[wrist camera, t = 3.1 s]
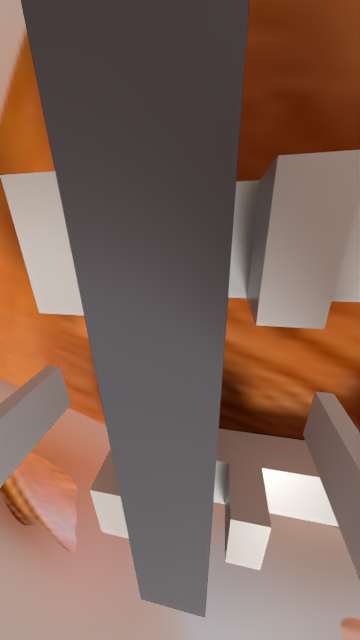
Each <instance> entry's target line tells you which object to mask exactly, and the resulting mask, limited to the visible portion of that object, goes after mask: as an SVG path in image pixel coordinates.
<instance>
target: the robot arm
mask: <svg viewBox="0 0 360 640" xmlns="http://www.w3.org/2000/svg"><path fill="white" fill-rule="evenodd" d="M70 405H71V403H70V400H69V396H68V393H67V389H66V386H65V382H64V379H63V375H62V372H61V368H60V366H49V365H48V366H47V367H45V368H44V369H43V370H42V371H40V372H39V373H38V374H37V375H35V376H34V377H33V378H32V379H30V380H29V381H28V382H27V383H25V384H24V385H23V386H22V387H20V388H19V389H18V390H17V391H15V392H14V393H13V394H12V395H10V396H9V397H8V398H7V399H6V400H4V401H3V402H2V403H1V404H0V487H1V486H2V485H3V484H4V483H5V481H6V480H7V479H8V478H9V477H10V476H11V474H12V473H13V472H14V471H15V470H16V468H17V467H18V466H19V465H20V464H21V462H22V461H23V460H24V459H25V458H26V457H27V455H28V454H29V453H30V452H31V451H32V449H33V448H34V447H35V446H36V445H37V444H38V442H39V441H40V440H41V439H42V438H43V436H44V435H45V434H46V433H47V432H48V430H49V429H50V428H51V427H52V426H53V425H54V423H55V422H56V421H57V420H58V419H59V418H60V416H61V415H62V414H63V413H64V412H65V410H66V409H67V408H68V407H69V406H70ZM303 436H304V438H305V441H306V444H307V446H308V449H309V451H310V454H311V456H312V459H313V462H314V464H315V467H316V469H317V472H318V474H319V477H320V480H321V482H322V485H323V487H324V490H325V492H326V495H327V497H328V500H329V503H330V505H331V508H332V510H333V513H334V515H335V518H336V521H337V523H338V526H339V528H340V531H341V533H342V536H343V539H344V541H345V544H346V546H347V548H348V551H349V554H350V556H351V559H352V561H353V564H354V567H355V569H356V572H357V574H358V577H359V580H360V432H359V431H358V429H357V428H356V426H355V425H354V423H353V422H352V420H351V419H350V417H349V416H348V414H347V413H346V411H345V410H344V408H343V407H342V405H341V404H340V402H339V401H338V399H337V398H336V396H335V395H334V393H324V392H315V394H314V397H313V401H312V404H311V408H310V411H309V415H308V418H307V422H306V425H305V429H304V432H303Z"/></svg>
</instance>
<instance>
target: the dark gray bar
mask: <svg viewBox="0 0 360 640" xmlns="http://www.w3.org/2000/svg"><path fill="white" fill-rule="evenodd" d="M21 3H22V8H23V13H24V18H25V23H26V28H27V33H28V38H29V43H30V48H31V53H32V58H33V63H34V68H35V73H36V78H37V83H38V88H39V93H40V98H41V103H42V108H43V113H44V118H45V123H46V128H47V133H48V138H49V143H50V148H51V153H52V158H53V163H54V168H55V173H56V178H57V183H58V188H59V193H60V198H61V203H62V208H63V213H64V218H65V223H66V228H67V232H68V237H69V242H70V247H71V252H72V257H73V262H74V267H75V272H76V277H77V282H78V287H79V292H80V297H81V302H82V307H83V312H84V317H85V322H86V327H87V332H88V337H89V342H90V347H91V352H92V357H93V362H94V367H95V372H96V377H97V382H98V387H99V392H100V397H101V402H102V407H103V412H104V417H105V422H106V427H107V431H108V436H109V442H110V446H111V452H112V457H113V462H114V466H115V471H116V476H117V481H118V486H119V491H120V496H121V501H122V506H123V511H124V516H125V521H126V526H127V531H128V536H129V541H130V546H131V551H132V556H133V561H134V566H135V571H136V575H137V581H138V586H139V591H140V596H141V599H143V600H146V601H150V602H153V603H157V604H160V605H164V606H167V607H170V608H174V609H178V610H181V611H184V612H188V613H192V614H195V615H198V616H202V617H205V610H206V597H207V582H208V568H209V554H210V541H211V525H212V513H213V499H214V485H215V472H216V458H217V444H218V430H219V416H220V402H221V388H222V374H223V360H224V347H225V333H226V319H227V305H228V291H229V277H230V263H231V249H232V235H233V221H234V208H235V194H236V180H237V166H238V152H239V138H240V124H241V110H242V96H243V83H244V69H245V55H246V41H247V27H248V13H249V0H21Z"/></svg>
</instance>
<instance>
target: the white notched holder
mask: <svg viewBox="0 0 360 640" xmlns="http://www.w3.org/2000/svg"><path fill="white" fill-rule="evenodd" d="M0 177H1V181H2V184H3V188H4V191H5V195H6V198H7V202H8V205H9V209H10V212H11V216H12V219H13V223H14V226H15V230H16V233H17V237H18V240H19V244H20V247H21V251H22V254H23V258H24V261H25V265H26V268H27V272H28V275H29V279H30V282H31V286H32V289H33V293H34V296H35V300H36V303H37V307H38V310H39V313H47V314H65V315H83V316H84V312H83V307H82V302H81V297H80V292H79V287H78V282H77V277H76V272H75V267H74V262H73V257H72V252H71V247H70V242H69V237H68V232H67V228H66V223H65V218H64V213H63V208H62V203H61V198H60V193H59V188H58V183H57V178H56V173H55V171H53V172H39V173H25V174H11V175H0ZM228 297H230V298H247V300H248V303H249V306H250V309H251V312H252V315H253V318H254V321H255V324H256V325H259V326H277V327H294V328H312V329H324V328H325V324H326V320H327V317H328V313H329V309H330V305H331V302H332V301H340V302H360V150H348V151H334V152H320V153H306V154H292V155H278V156H277V158H276V159H275V160H274V162H273V163H272V164H271V166H270V167H269V168H268V169H267V171H266V172H265V173H264V175H263V176H262V177H261V179H260V180H254V181H236V194H235V208H234V221H233V235H232V249H231V263H230V277H229V291H228ZM90 492H91V496H92V499H93V503H94V507H95V510H96V514H97V517H98V520H99V524H100V528H101V531H102V532H104V533H108V534H112V535H116V536H120V537H124V538H128V539H129V536H128V531H127V526H126V521H125V516H124V511H123V506H122V501H121V496H120V491H119V486H118V481H117V476H116V471H115V466H114V462H113V457H112V452H111V449H110V451H109V453H108V455H107V457H106V459H105V461H104V463H103V465H102V467H101V469H100V471H99V473H98V475H97V477H96V479H95V481H94V483H93V484H92V487H91V488H90ZM213 502H216V503H221V504H225V562H227V563H231V564H236V565H240V566H244V567H249V568H252V569H256V570H260V569H261V565H262V562H263V558H264V554H265V550H266V546H267V543H268V539H269V535H270V531H271V522H270V515H269V513H272V514H277V515H282V516H287V517H292V518H297V519H302V520H308V521H313V522H318V523H323V524H328V525H333V526H338V523H337V521H336V518H335V515H334V513H333V510H332V508H331V505H330V503H329V500H328V497H327V495H326V492H325V490H324V487H323V485H322V482H321V480H320V477H319V474H318V472H317V469H316V467H315V464H314V462H313V459H312V456H311V454H310V451H309V449H308V446H307V444H306V441H305V440H298V439H291V438H283V437H276V436H269V435H262V434H255V433H247V432H240V431H233V430H226V429H219V430H218V444H217V458H216V472H215V485H214V499H213ZM338 527H339V526H338Z"/></svg>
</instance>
